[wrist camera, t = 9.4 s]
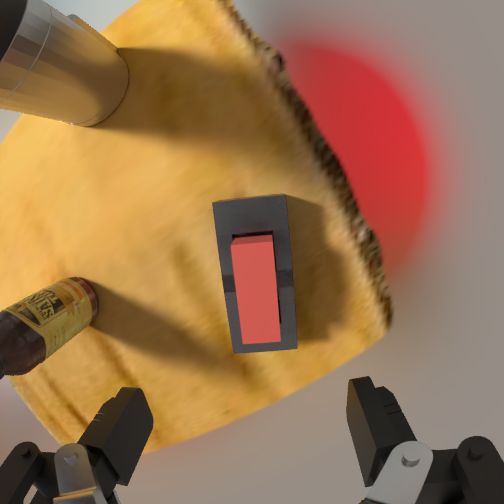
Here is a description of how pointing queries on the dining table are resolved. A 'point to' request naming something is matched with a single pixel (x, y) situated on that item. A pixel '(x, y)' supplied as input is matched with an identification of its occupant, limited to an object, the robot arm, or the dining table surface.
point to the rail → (276, 224)
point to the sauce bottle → (44, 324)
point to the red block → (256, 288)
